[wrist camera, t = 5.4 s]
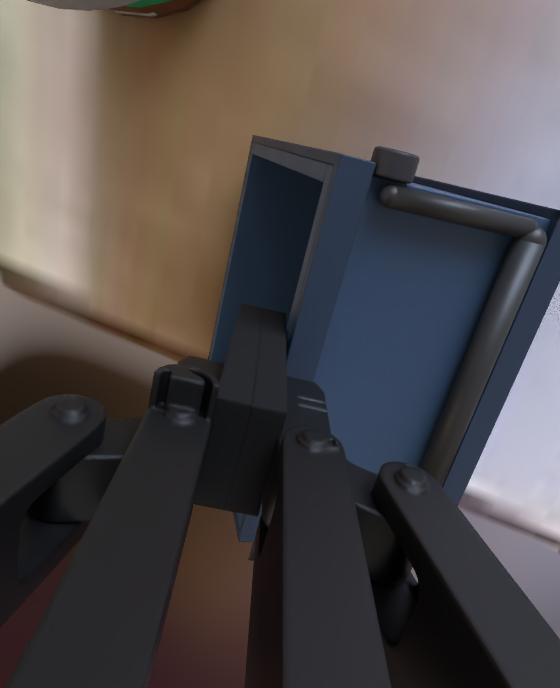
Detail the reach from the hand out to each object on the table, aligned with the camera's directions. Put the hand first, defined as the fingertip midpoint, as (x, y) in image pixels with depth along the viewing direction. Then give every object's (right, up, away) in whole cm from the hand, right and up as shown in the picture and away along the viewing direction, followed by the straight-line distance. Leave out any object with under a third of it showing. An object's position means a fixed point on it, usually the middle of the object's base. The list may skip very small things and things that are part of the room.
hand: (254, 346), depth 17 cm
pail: (+2, +4, +10) cm, 11 cm away
